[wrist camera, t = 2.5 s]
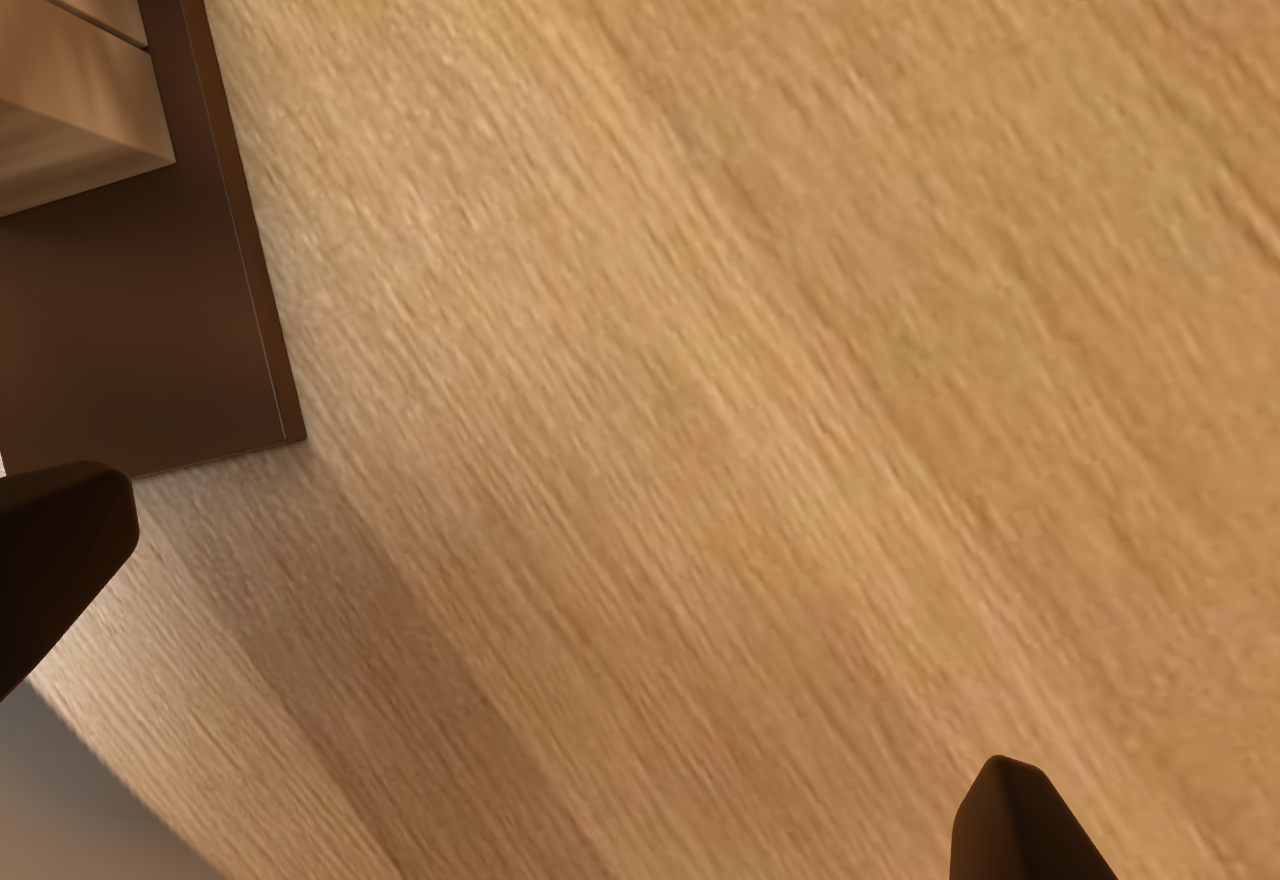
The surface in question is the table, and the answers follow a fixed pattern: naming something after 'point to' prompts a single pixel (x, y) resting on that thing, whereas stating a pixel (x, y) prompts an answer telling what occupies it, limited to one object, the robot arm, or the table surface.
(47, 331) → the book trough
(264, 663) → the table surface
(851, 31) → the table surface
